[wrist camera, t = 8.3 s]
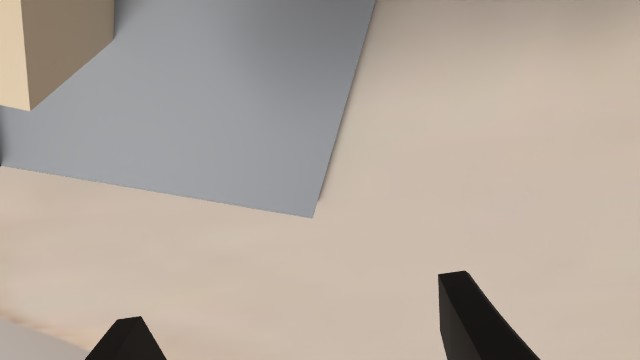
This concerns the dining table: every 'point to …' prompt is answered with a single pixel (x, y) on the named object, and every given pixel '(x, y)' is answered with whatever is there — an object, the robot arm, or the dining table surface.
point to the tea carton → (48, 45)
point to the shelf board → (203, 102)
